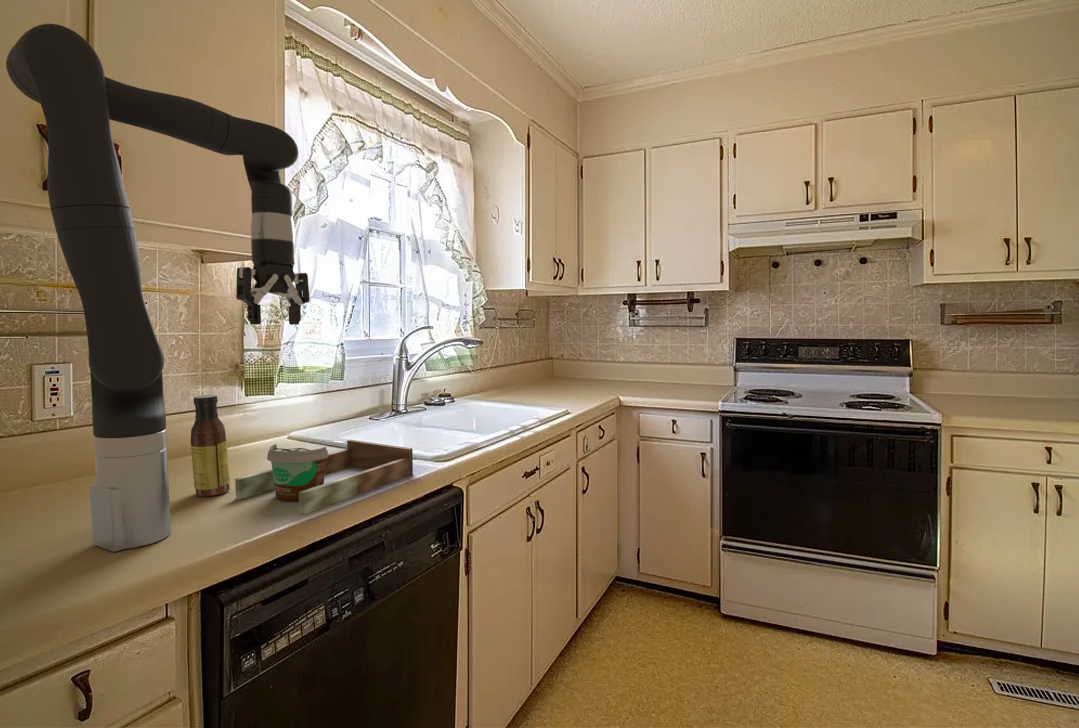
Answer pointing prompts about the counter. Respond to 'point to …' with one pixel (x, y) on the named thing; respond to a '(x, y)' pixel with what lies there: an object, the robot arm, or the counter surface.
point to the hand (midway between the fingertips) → (275, 324)
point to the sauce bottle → (209, 449)
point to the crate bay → (382, 470)
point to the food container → (296, 470)
